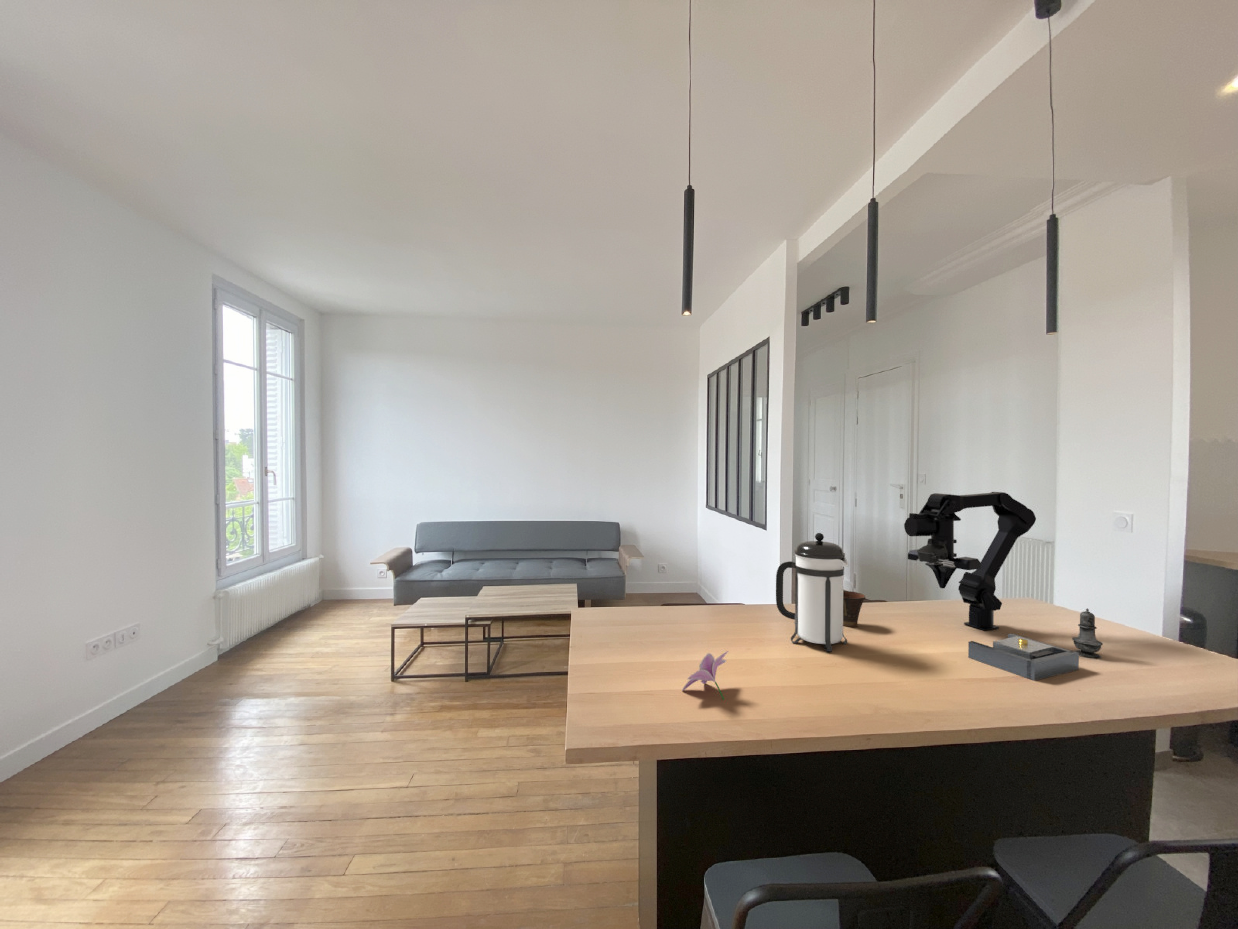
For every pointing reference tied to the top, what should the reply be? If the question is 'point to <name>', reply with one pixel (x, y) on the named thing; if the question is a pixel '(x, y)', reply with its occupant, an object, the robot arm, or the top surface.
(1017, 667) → the frame
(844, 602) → the cup
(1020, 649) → the drawer
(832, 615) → the coffee press
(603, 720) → the top surface
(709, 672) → the lily
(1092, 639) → the salt shaker
